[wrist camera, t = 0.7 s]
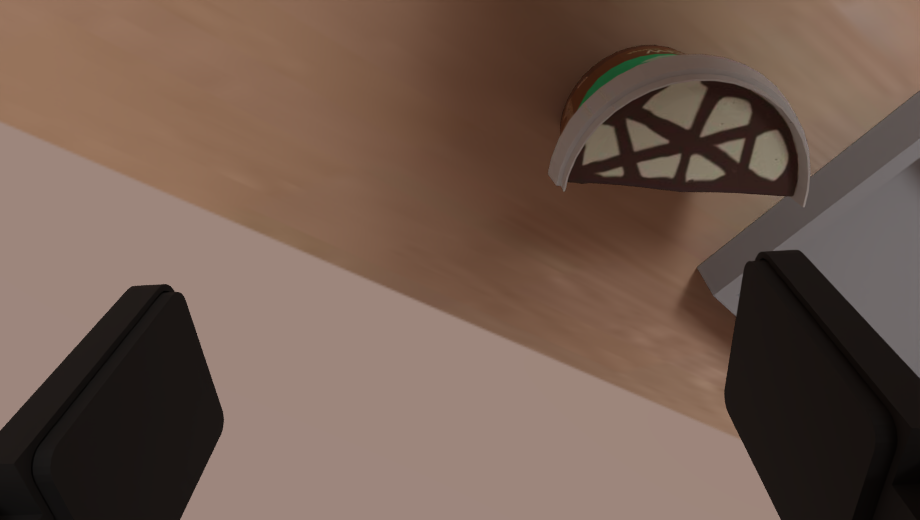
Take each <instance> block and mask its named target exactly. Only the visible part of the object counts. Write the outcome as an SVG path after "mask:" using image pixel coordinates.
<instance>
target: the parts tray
mask: <svg viewBox="0 0 920 520" xmlns="http://www.w3.org/2000/svg"><path fill="white" fill-rule="evenodd" d="M781 250H800V251H801V252H802V253H803V254H804V255H805V256H806V257H807V258H808V259H809V260H810V261H811V262H812V263H813V264H814V265H815V266H816V268H817V269H818V270H819V271H820V272H821V273H822V274H823V275H824V276H825V277H826V278H827V279H828V280H829V281H830V283H831V284H832V285H833V286H834V287H835V288H836V289H837V290H838V291H839V292H840V293H841V294H842V295H843V296H844V298H845V299H846V300H847V301H848V302H849V303H850V304H851V305H852V306H853V307H854V308H855V309H856V310H857V312H858V313H859V314H860V315H861V316H862V317H863V318H864V319H865V320H866V321H867V322H868V323H869V324H870V325H871V327H872V328H873V329H874V330H875V331H876V332H877V333H878V334H879V335H880V336H881V337H882V338H883V339H884V340H885V342H886V343H887V344H888V345H889V346H890V347H891V348H892V349H893V350H894V351H895V352H896V353H897V354H898V355H899V357H900V358H901V359H902V360H903V361H904V362H905V363H906V364H907V365H908V366H909V367H910V368H911V369H912V370H913V372H914V373H915V374H916V375H917V376H918V377H919V378H920V91H919V92H918V93H916V94H915V95H914V96H912V97H911V98H910V99H909V100H907V101H906V102H905V103H904V104H902V105H901V106H900V107H899V108H897V109H896V110H895V111H894V112H892V113H891V114H890V115H888V116H887V117H886V118H885V119H883V120H882V121H881V122H880V123H878V124H877V125H876V126H875V127H873V128H872V129H871V130H870V131H868V132H867V133H866V134H864V135H863V136H862V137H861V138H859V139H858V140H857V141H856V142H854V143H853V144H852V145H851V146H849V147H848V148H847V149H846V150H844V151H843V152H842V153H841V154H839V155H838V156H837V157H835V158H834V159H833V160H832V161H830V162H829V163H828V164H827V165H825V166H824V167H823V168H822V169H820V170H819V171H818V172H817V173H815V174H814V175H813V176H811V177H810V184H809V192H808V196H807V200H806V204H805V207H802V206H801V205H799V204H798V203H797V202H795V201H794V200H793V199H792V198H790V197H789V196H786V197H785V198H784V199H782V200H781V201H780V202H779V203H777V204H776V205H775V206H774V207H772V208H771V209H770V210H769V211H767V212H766V213H765V214H763V215H762V216H761V217H760V218H758V219H757V220H756V221H755V222H753V223H752V224H751V225H750V226H748V227H747V228H746V229H745V230H743V231H742V232H741V233H739V234H738V235H737V236H736V237H734V238H733V239H732V240H731V241H729V242H728V243H727V244H726V245H724V246H723V247H722V248H721V249H719V250H718V251H717V252H716V253H714V254H713V255H712V256H710V257H709V258H708V259H707V260H705V261H704V262H703V263H702V264H700V265H699V266H698V267H697V269H698V270H699V272H700V274H701V276H702V277H703V279H704V281H705V282H706V284H707V286H708V288H709V289H710V291H711V293H712V294H713V296H714V297H715V298H716V299H717V300H719V301H720V302H721V303H722V304H723V305H724V306H725V307H726V308H727V309H728V310H730V311H731V312H732V313H733V314H734V315H735V316H736V315H737V309H738V302H739V296H740V290H741V283H742V277H743V271H744V267H745V264H746V263H747V262H748V261H755V258H756V257H757V255H758V253H760V252H763V251H781Z"/></svg>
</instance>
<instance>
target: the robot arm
mask: <svg viewBox="0 0 920 520" xmlns="http://www.w3.org/2000/svg"><path fill="white" fill-rule="evenodd" d="M724 394H725V404H726V408H727V411H728V413H729V415H730V417H731V420H732V422H733V424H734V426H735V428H736V430H737V432H738V434H739V436H740V438H741V440H742V442H743V443H744V446H745V448H746V450H747V452H748V454H749V456H750V458H751V460H752V462H753V464H754V466H755V468H756V470H757V472H758V474H759V476H760V478H761V480H762V482H763V484H764V486H765V488H766V490H767V492H768V494H769V496H770V498H771V500H772V503H773V505H774V506H775V509H776V511H777V512H778V515H779V517H780V519H781V520H920V378H919V377H918V376H917V375H916V374H915V373H914V372H913V370H912V369H911V368H910V367H909V366H908V365H907V364H906V363H905V362H904V361H903V360H902V359H901V358H900V357H899V355H898V354H897V353H896V352H895V351H894V350H893V349H892V348H891V347H890V346H889V345H888V344H887V343H886V342H885V340H884V339H883V338H882V337H881V336H880V335H879V334H878V333H877V332H876V331H875V330H874V329H873V328H872V327H871V325H870V324H869V323H868V322H867V321H866V320H865V319H864V318H863V317H862V316H861V315H860V314H859V313H858V312H857V310H856V309H855V308H854V307H853V306H852V305H851V304H850V303H849V302H848V301H847V300H846V299H845V298H844V296H843V295H842V294H841V293H840V292H839V291H838V290H837V289H836V288H835V287H834V286H833V285H832V284H831V283H830V281H829V280H828V279H827V278H826V277H825V276H824V275H823V274H822V273H821V272H820V271H819V270H818V269H817V268H816V266H815V265H814V264H813V263H812V262H811V261H810V260H809V259H808V258H807V257H806V256H805V255H804V254H803V253H802V252H801V251H800V250H781V251H763V252H760V253H758V255H757V257H756V258H755V261H748V262H747V263H746V264H745V267H744V271H743V277H742V283H741V290H740V296H739V302H738V309H737V315H736V321H735V327H734V334H733V340H732V346H731V353H730V359H729V365H728V372H727V378H726V384H725V393H724ZM223 422H224V417H223V411H222V408H221V405H220V402H219V399H218V396H217V393H216V390H215V387H214V384H213V381H212V378H211V375H210V372H209V369H208V366H207V363H206V360H205V357H204V354H203V351H202V348H201V345H200V342H199V339H198V336H197V333H196V330H195V327H194V324H193V321H192V318H191V315H190V312H189V309H188V306H187V303H186V300H185V298H184V296H183V295H182V294H181V293H179V292H174V290H173V289H172V287H171V286H169V285H167V284H162V285H143V286H132V287H130V288H129V289H128V290H127V291H126V292H125V293H124V294H123V295H122V296H121V297H120V299H119V300H118V301H117V302H116V303H115V304H114V305H113V306H112V307H111V309H110V310H109V311H108V312H107V313H106V314H105V315H104V316H103V318H102V319H101V320H100V321H99V322H98V323H97V324H96V325H95V326H94V328H92V330H91V331H90V332H89V333H88V334H87V335H86V336H85V337H84V338H83V340H82V341H81V342H80V343H79V344H78V345H77V346H76V347H75V348H74V350H73V351H72V352H71V353H70V354H69V355H68V356H67V357H66V358H65V360H64V361H63V362H62V363H61V364H60V365H59V366H58V368H56V370H55V371H54V372H53V373H52V374H51V375H50V376H49V377H48V378H47V380H46V381H45V382H44V383H43V384H42V385H41V386H40V387H39V388H38V390H37V391H36V392H35V393H34V394H33V395H32V396H31V397H30V399H28V401H27V402H26V403H25V404H24V405H23V406H22V407H21V408H20V410H19V411H18V412H17V413H16V414H15V415H14V416H13V417H12V418H11V420H10V421H9V422H8V423H7V424H6V425H5V426H4V427H3V428H2V429H1V431H0V520H180V518H181V516H182V514H183V512H184V510H185V508H186V506H187V504H188V502H189V500H190V498H191V496H192V493H193V491H194V489H195V487H196V485H197V483H198V481H199V479H200V477H201V475H202V473H203V470H204V468H205V466H206V464H207V462H208V460H209V458H210V456H211V454H212V452H213V450H214V447H215V446H216V443H217V441H218V439H219V437H220V435H221V432H222V430H223Z"/></svg>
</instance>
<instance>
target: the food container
mask: <svg viewBox="0 0 920 520" xmlns="http://www.w3.org/2000/svg"><path fill="white" fill-rule="evenodd" d="M548 175H549V176H550V178H551V179H552V181H553V182H554V183H555V185H556V186H561V187H562V190H563V191H565V189H566V185H567V182H575V183H581V184H584V183H600V184H613V185H625V186H635V187H645V188H653V189H661V190H670V191H678V192H724V193H745V194H760V195H776V196H789V197H790V198H792V199H793V200H794V201H795V202H797V203H798V204H799V205H801V206H802V207H805V204H806V200H807V196H808V192H809V184H810V157H809V148H808V144H807V140H806V137H805V133H804V130H803V128H802V126H801V124H800V122H799V120H798V118H797V116H796V114H795V113H794V111H793V109H792V107H791V105H790V104H789V102H788V100H787V99H786V98H785V97H784V95H783V94H782V93H781V92H780V90H779V89H778V88H777V87H776V86H775V85H774V84H773V83H772V82H771V81H770V80H768V79H767V78H766V77H765V76H764V75H762V74H761V73H759V72H758V71H756V70H754V69H752V68H750V67H749V66H747V65H745V64H743V63H740V62H737V61H734V60H731V59H728V58H725V57H719V56H712V55H705V54H684V53H681V52H679V51H676V50H674V49H671V48H669V47H663V46H657V45H642V46H636V47H631V48H627V49H624V50H621V51H619V52H616V53H614V54H612V55H610V56H608V57H606V58H604V59H603V60H602V61H600V62H599V63H597V64H596V65H595V66H593V67H592V68H591V69H590V70H589V71H588V72H587V73H586V74H585V75H584V76H583V77H582V78H581V80H580V81H579V82H578V84H577V85H576V86H575V88H574V89H573V91H572V93H571V95H570V96H569V98H568V100H567V103H566V105H565V108H564V111H563V114H562V119H561V124H560V137H559V139H558V142H557V144H556V147H555V150H554V152H553V155H552V157H551V162H550V166H549V171H548Z"/></svg>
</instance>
